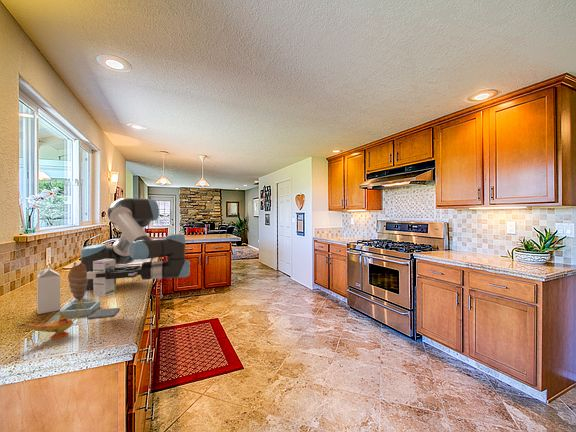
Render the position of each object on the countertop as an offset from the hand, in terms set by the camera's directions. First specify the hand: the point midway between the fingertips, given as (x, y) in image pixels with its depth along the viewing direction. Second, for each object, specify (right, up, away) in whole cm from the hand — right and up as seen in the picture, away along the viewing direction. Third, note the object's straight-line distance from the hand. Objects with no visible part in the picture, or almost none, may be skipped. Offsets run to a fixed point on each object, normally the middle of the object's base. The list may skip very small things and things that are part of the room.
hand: (91, 273), depth 112 cm
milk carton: (-22, -17, +5) cm, 28 cm away
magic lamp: (+2, -18, -20) cm, 27 cm away
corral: (-7, -17, +3) cm, 19 cm away
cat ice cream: (-20, -17, +20) cm, 33 cm away
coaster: (+4, -17, +2) cm, 18 cm away
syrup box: (+5, -9, +1) cm, 10 cm away
